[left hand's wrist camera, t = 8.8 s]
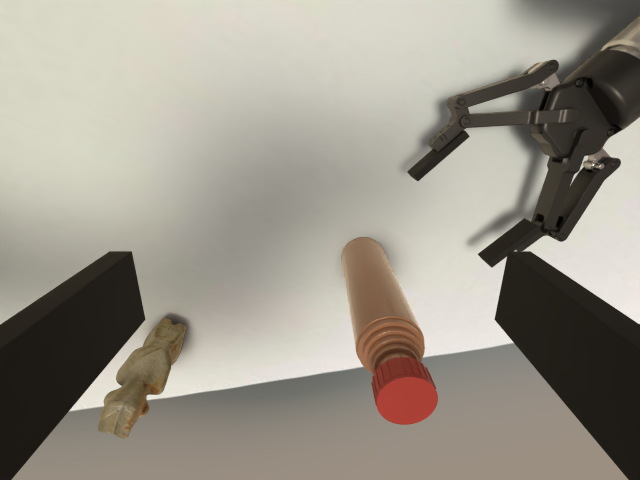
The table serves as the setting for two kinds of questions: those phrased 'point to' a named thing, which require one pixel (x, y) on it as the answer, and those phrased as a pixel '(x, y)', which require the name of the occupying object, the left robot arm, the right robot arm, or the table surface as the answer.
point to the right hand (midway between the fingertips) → (449, 220)
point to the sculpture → (141, 378)
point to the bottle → (378, 307)
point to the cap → (404, 391)
